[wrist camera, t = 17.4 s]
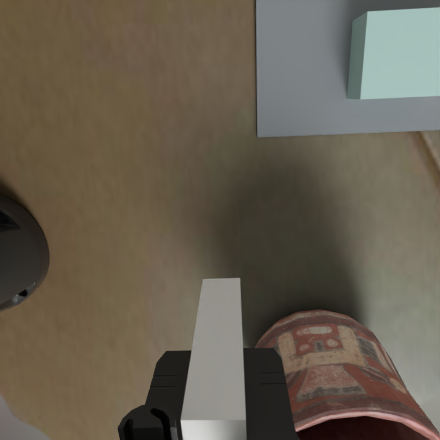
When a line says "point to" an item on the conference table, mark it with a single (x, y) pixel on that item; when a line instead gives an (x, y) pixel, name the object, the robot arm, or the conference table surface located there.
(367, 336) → the pottery
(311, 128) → the slate mat
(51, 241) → the conference table surface
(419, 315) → the conference table surface
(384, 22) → the painted block
